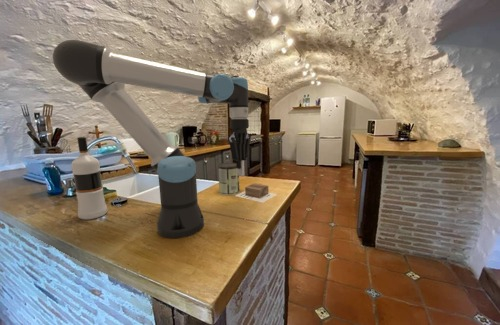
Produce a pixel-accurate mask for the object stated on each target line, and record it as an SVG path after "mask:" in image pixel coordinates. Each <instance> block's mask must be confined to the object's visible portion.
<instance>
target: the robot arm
mask: <svg viewBox="0 0 500 325" xmlns="http://www.w3.org/2000/svg"><path fill="white" fill-rule="evenodd" d="M52 62H53V66H54V67H55V69H56V71H57V72H58V73H59V74H60V76H62V77H63V78H64V79H65V80H67V81H69V82H71V83H73V84H75V85H78V86H79V87H80V88H81V89H82V91H83V92H84V93H85V94H86V95H87V97H89V99H90V100H91V101H93V102H95V103H100V104H102V106H103V107H104V108H105V109H106V110H107V111H108V112H109V113H110V115H112V117H113V118H114V119H115V120H116V121H117V122H118V123H119V125H120V126H121V127H122V128H123V129H124V130H125V131H126V133H127V134H128V135H129V136H130V137H131V138H132V139H133V140H134V141H135V142H136V144H137V145H138V146H139V147H140V148H141V150H143V152H144V153H145V154H146V155H147V157H149V158H150V161H151V162H150V167H152V169H154V170H155V172H156V173H157V176H158V184H159V185H158V186H159V198H160V211H159V216H158V220H157V223H156V227H157V229H156V230H157V234H158V235H159V236H161V237H164V238H167V239H168V238H169V239H179V238H185V237H189V236H193V235H195V234H196V233H198V232H200V231H201V230H202V229H203V228H204V226H205V218H204V215H203V212H202V210H201V208H200V205H199V203H198V188H197V187H198V186H197V183H198V182H197V165H196V161H195V160H194V159H193V158H192V157H189V156H186V155H185V154H184V153H183V151H181V149H180V148H179V147H178V146H177V145H171V144H170V142H169V141H168V140H167V139H166V138H165V136H164V135H163V134H162V132H160V130H159V129H158V128H157V127H156V125H155V124H154V123H153V122H152V120H150V118H149V117H148V116H147V114H146V113H145V112H144V111H143V110H142V108H141V107H140V106H139V104H138V103H137V102H136V101H135V100H134V98H133V97H132V96H131V95H130V94H129V93H128V91H127V90H126V89H125V85H130V86H135V87H142V88H146V89H147V88H148V89H152V90H153V89H154V90H159V91H164V92H169V93H176V94H182V95H186V96H187V95H188V96H193V97H197V100H198V102H199V104H207V105H209V104H229V118H230V120H229V128H230V129H232V130H231V135H230V136H228V137H227V141H228V143H229V146H230V147H229V148H230V154H231V158H232V160H233V161H235V162H236V164H237V175H238V176H239V177H244V176H245V175H246V174H245V162H246V161H247V158H248V157H249V149H250V141H251V138H252V136H251V134H249V133H248V129H249V125H250V124H249V123H250V122H249V119H248V118H249V84H248V79H247V78H246V77H241V76H234V77H230V76H229V75H227V74H224V73H218V74H212V73H207V72H203V71H199V70H198V71H197V70H193V69H189V68H185V67H179V66H176V65H171V64H165V63H162V62H156V61H152V60H149V59H144V58H139V57H134V56H130V55H125V54H121V53H117V52H113V50H112V49H110V47H107V46H104V45H99V44H95V43H91V42H87V41H83V40H79V39H65V40H63V41H61V42H59V43H58V44H57V45H56V46H55V48H54V50H53V52H52Z"/></svg>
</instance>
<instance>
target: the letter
mask: <svg viewBox="0 0 500 325" xmlns="http://www.w3.org/2000/svg"><path fill="white" fill-rule="evenodd" d="M277 195H278V194H277V193H273V192H268V194H267V195H265V196H263V197H261V198H255V197H251V196H247V195H245V190H244V191H241V192H239V193H237V194H234V197H237V198H242V199H245V200H246V199H247V200H249V201H255V202H258V203H265V202H267V201H268V200H270V199H272V198H273V197H276V196H277Z"/></svg>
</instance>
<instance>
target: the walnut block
mask: <svg viewBox="0 0 500 325" xmlns="http://www.w3.org/2000/svg"><path fill="white" fill-rule="evenodd" d="M244 189H245V190H244V191H245V195H247V196H251V197H255V198H261V197H263V196H265V195H267V194H268V193H269V185H267V184H261V183H255V182H254V183H252V184H249V185H247V186H245V188H244Z"/></svg>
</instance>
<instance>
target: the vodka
mask: <svg viewBox="0 0 500 325" xmlns="http://www.w3.org/2000/svg"><path fill="white" fill-rule="evenodd" d="M76 139H77V144H78V151H79V156H77V157H76V158H75V159H73V160H72V162H71V165H70V167H71V170H72V175H73V180H74V186H75V187H74V188H75V191H76V192H75V195H76V199H77V207H78V208H77V217H78V218H79V219H80V220H87V221H89V220H94V219H98V218H101V217H103V216H105V215H106V214H107V212H108V210H109V209H108V206H107V203H106V199H105V196H104V188H103V182H102V176H101V167H100V166H101V164H100V161H99V159H98V158H96V157H94V156H92V155H90V154H89V148H88V142H87V137H84V136H81V137H76Z"/></svg>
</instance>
